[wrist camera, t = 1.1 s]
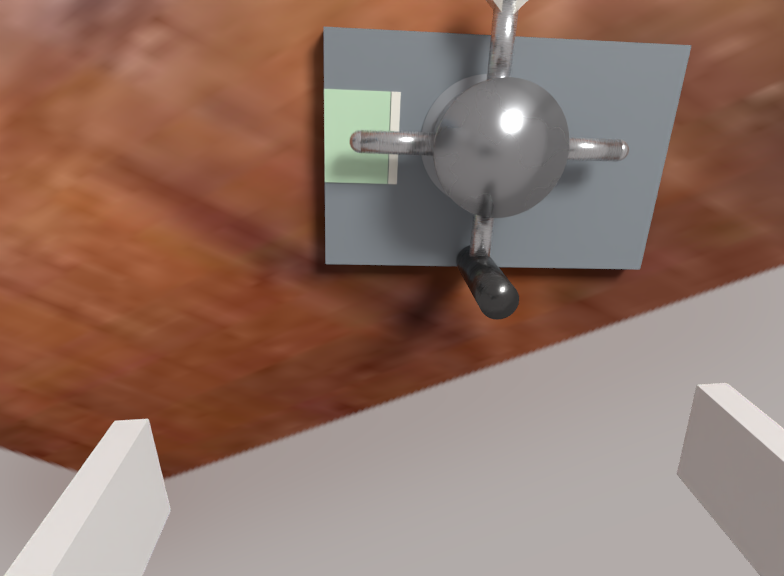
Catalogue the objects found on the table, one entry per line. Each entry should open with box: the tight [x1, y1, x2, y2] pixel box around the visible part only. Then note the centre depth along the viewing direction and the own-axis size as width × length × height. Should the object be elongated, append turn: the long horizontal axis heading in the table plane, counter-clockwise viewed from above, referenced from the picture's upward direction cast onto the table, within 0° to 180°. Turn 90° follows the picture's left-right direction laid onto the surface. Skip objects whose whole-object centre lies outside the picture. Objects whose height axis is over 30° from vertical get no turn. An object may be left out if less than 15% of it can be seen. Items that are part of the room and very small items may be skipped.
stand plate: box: [324, 27, 691, 269], centre depth 30 cm, size 20×13×1 cm, turn 88°
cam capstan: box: [349, 0, 629, 319], centre depth 26 cm, size 15×17×7 cm
